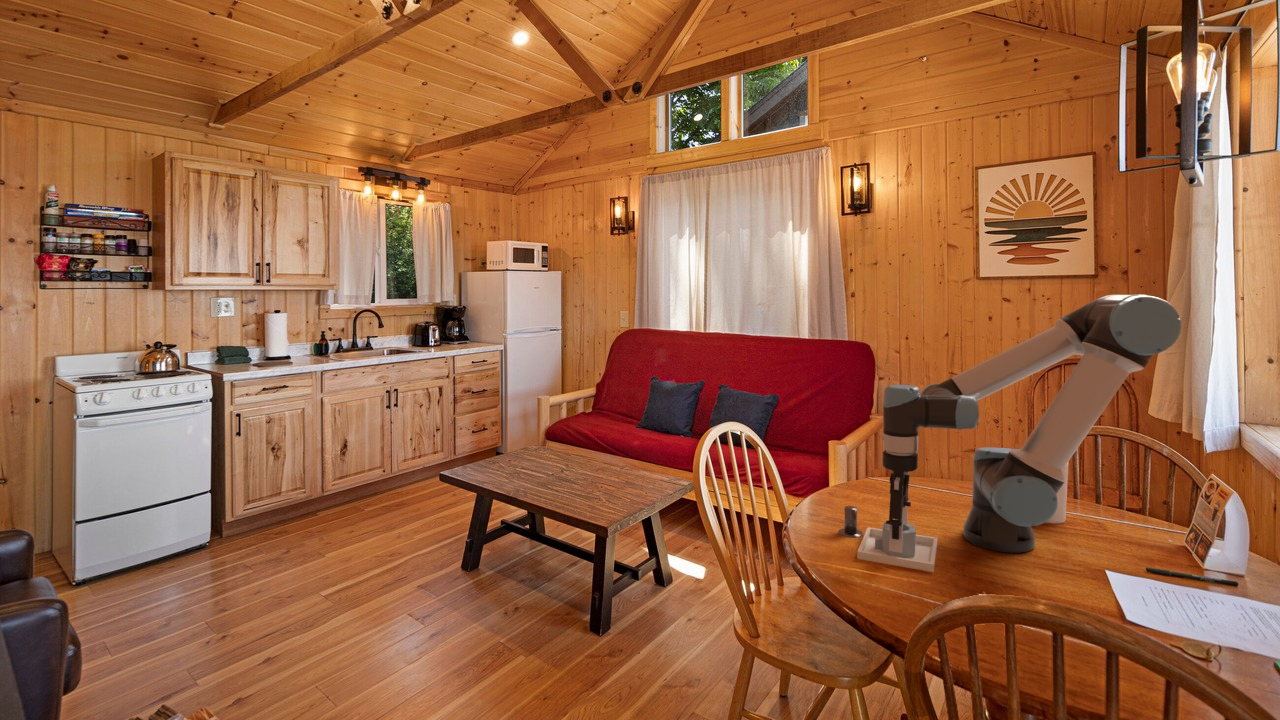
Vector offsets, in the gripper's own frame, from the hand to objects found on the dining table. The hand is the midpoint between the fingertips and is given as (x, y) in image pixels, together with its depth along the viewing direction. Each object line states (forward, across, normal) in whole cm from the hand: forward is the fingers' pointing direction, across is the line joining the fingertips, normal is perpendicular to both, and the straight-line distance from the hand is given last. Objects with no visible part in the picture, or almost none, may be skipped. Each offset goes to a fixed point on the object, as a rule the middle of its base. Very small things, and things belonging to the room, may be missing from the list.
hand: (898, 541), depth 143 cm
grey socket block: (+2, 0, 0) cm, 2 cm away
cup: (+3, -40, +33) cm, 52 cm away
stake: (+3, -7, -12) cm, 14 cm away
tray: (+3, 0, 0) cm, 3 cm away
